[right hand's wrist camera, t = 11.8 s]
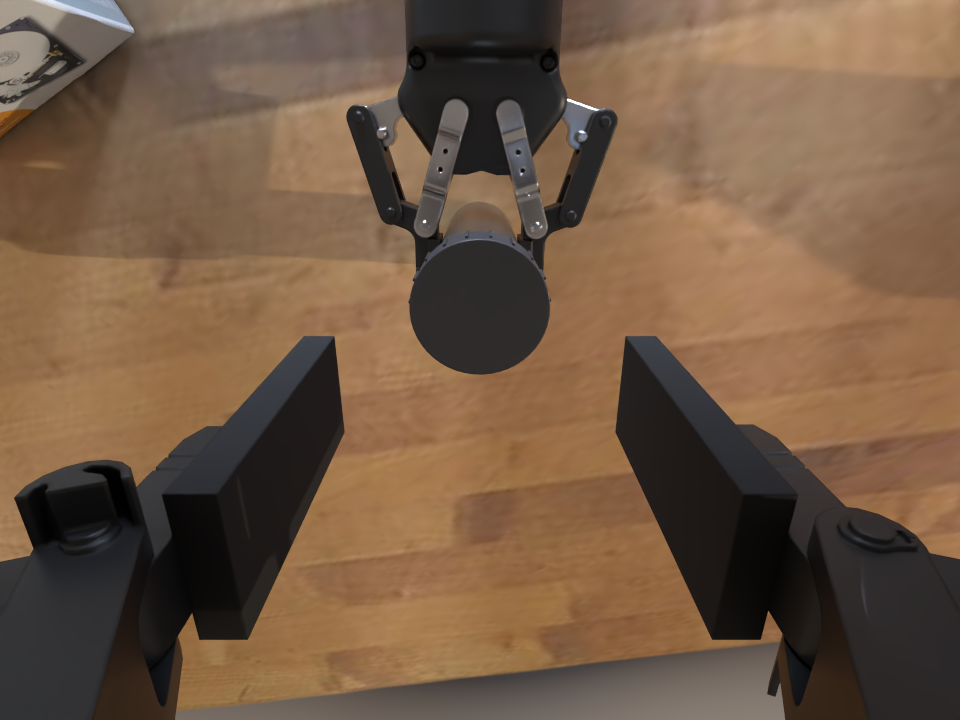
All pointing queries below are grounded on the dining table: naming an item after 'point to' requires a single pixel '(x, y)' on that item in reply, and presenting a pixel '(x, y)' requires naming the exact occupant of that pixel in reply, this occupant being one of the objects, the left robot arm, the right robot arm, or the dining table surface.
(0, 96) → the hard drive box
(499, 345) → the lid
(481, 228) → the bottle
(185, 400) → the dining table surface
